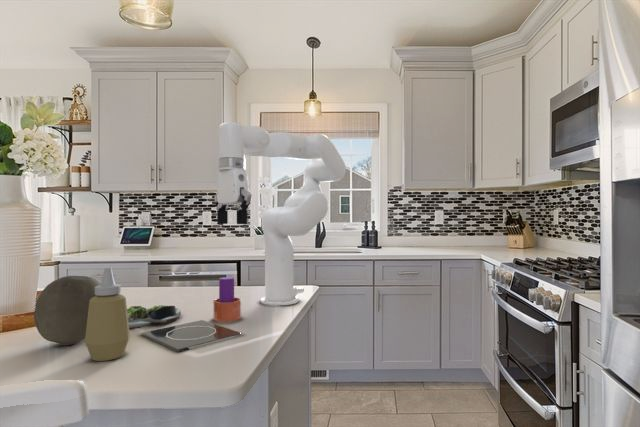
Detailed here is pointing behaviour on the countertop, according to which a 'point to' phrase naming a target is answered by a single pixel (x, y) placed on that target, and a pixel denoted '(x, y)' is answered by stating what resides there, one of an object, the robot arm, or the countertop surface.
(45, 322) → the cantaloupe
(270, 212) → the robot arm
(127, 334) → the squeeze bottle
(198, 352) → the countertop surface
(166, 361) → the countertop surface
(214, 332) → the slate board
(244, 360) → the countertop surface
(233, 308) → the pen pot
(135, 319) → the salad plate
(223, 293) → the cylinder
